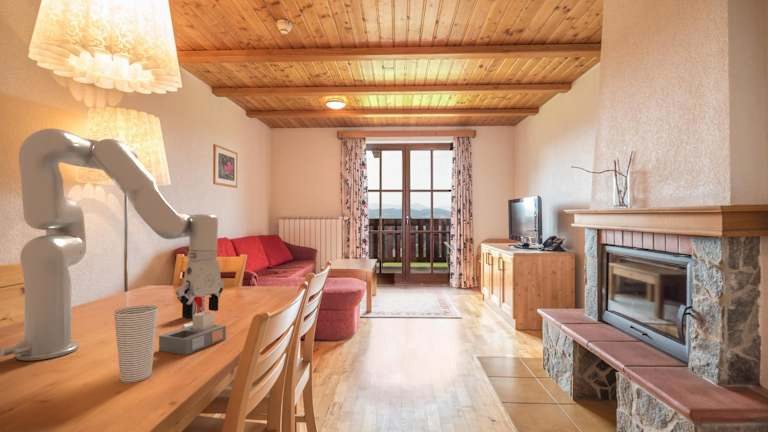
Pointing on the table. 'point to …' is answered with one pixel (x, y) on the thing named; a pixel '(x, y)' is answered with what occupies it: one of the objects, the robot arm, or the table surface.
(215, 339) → the grey compartment tray
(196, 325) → the cream rectangular block
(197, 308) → the soda can
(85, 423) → the table surface
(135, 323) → the cup
